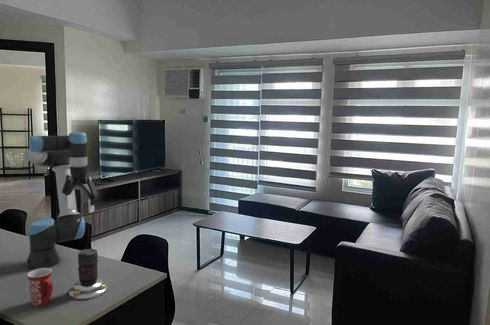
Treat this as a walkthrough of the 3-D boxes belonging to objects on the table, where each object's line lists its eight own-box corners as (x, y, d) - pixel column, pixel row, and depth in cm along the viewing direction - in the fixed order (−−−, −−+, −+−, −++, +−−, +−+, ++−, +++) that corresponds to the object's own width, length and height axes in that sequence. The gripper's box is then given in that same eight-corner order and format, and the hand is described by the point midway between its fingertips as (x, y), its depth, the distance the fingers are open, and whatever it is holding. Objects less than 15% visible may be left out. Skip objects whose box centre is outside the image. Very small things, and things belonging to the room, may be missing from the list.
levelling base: (78, 282, 171) (78, 275, 171) (112, 282, 172) (112, 275, 171) (62, 299, 155) (62, 291, 155) (100, 299, 156) (99, 292, 156)
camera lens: (91, 288, 159) (90, 256, 156) (75, 286, 160) (73, 254, 158) (102, 280, 166) (101, 249, 164) (86, 278, 168) (85, 247, 166)
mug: (25, 303, 152) (23, 273, 150) (46, 294, 159) (45, 265, 157) (39, 313, 145) (38, 281, 143) (61, 303, 152) (60, 273, 150)
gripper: (105, 166, 165) (106, 211, 168) (65, 162, 175) (67, 205, 177) (93, 169, 158) (94, 215, 161) (52, 164, 168) (54, 208, 171)
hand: (80, 210), depth 169 cm, fingers open, 13 cm apart
